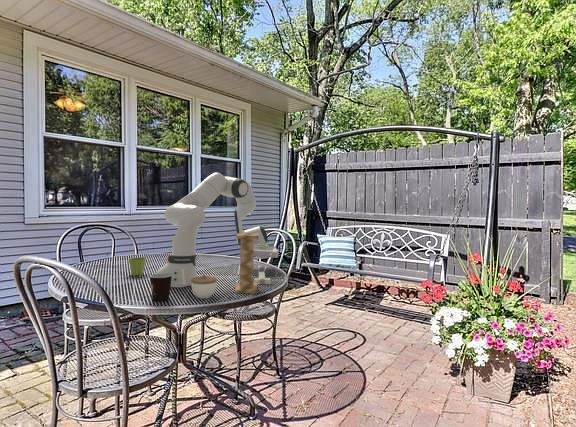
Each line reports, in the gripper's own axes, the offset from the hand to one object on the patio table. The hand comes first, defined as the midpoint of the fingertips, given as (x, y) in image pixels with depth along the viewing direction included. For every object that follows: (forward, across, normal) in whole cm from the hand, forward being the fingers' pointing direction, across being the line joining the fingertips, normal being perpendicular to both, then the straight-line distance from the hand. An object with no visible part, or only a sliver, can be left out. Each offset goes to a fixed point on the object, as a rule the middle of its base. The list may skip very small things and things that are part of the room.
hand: (260, 255), depth 204 cm
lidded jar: (+47, -24, +10) cm, 54 cm away
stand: (+34, -6, +9) cm, 36 cm away
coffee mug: (+50, -41, +10) cm, 66 cm away
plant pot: (+3, -66, +14) cm, 67 cm away
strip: (+13, +1, +10) cm, 17 cm away
